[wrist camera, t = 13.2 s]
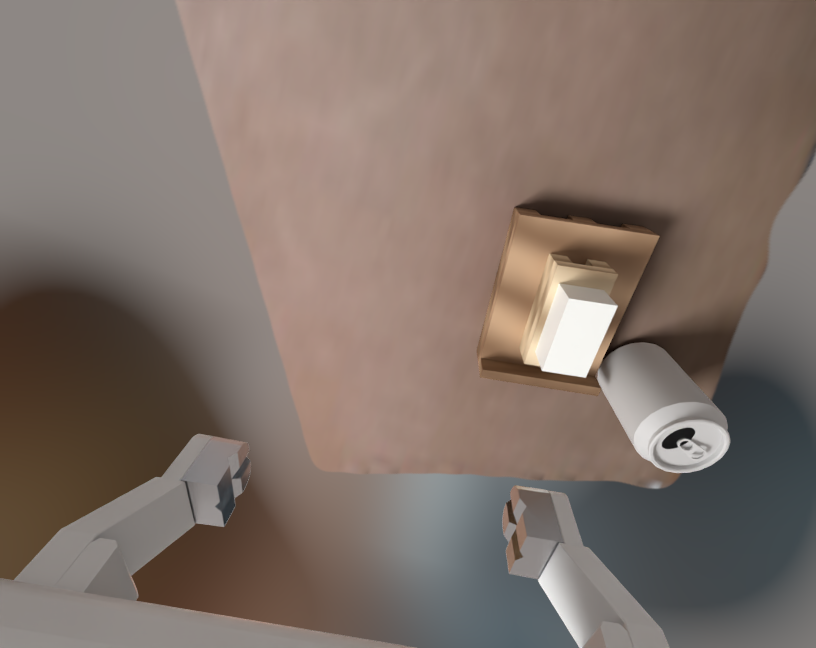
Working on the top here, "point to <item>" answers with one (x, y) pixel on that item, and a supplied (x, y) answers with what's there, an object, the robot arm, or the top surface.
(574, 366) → the white rectangular block
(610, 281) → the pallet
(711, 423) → the can
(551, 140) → the top surface
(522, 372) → the dock
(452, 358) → the top surface
